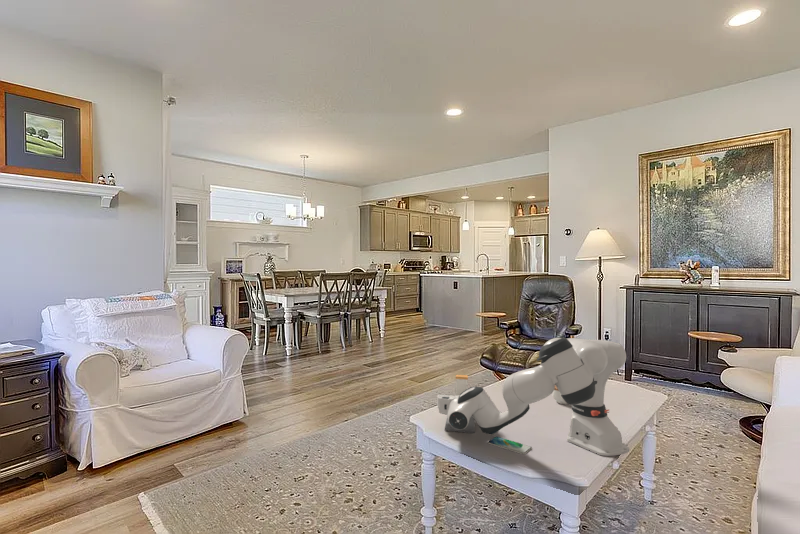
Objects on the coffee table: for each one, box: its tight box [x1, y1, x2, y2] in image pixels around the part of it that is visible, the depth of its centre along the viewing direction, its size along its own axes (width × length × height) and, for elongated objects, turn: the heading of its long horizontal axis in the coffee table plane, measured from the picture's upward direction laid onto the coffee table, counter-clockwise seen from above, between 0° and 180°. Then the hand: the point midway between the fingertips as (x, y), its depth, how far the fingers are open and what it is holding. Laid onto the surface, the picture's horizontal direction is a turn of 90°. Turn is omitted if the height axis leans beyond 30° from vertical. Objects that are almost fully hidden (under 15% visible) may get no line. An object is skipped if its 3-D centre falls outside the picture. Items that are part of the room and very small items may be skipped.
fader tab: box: [455, 374, 469, 396], centre depth 191 cm, size 3×5×17 cm, turn 79°
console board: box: [444, 416, 476, 434], centre depth 184 cm, size 20×12×1 cm, turn 169°
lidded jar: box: [551, 385, 568, 405], centre depth 213 cm, size 11×11×9 cm
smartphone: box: [487, 435, 533, 455], centre depth 162 cm, size 7×1×15 cm
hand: (461, 396), depth 189 cm, fingers closed, pressing on fader tab
